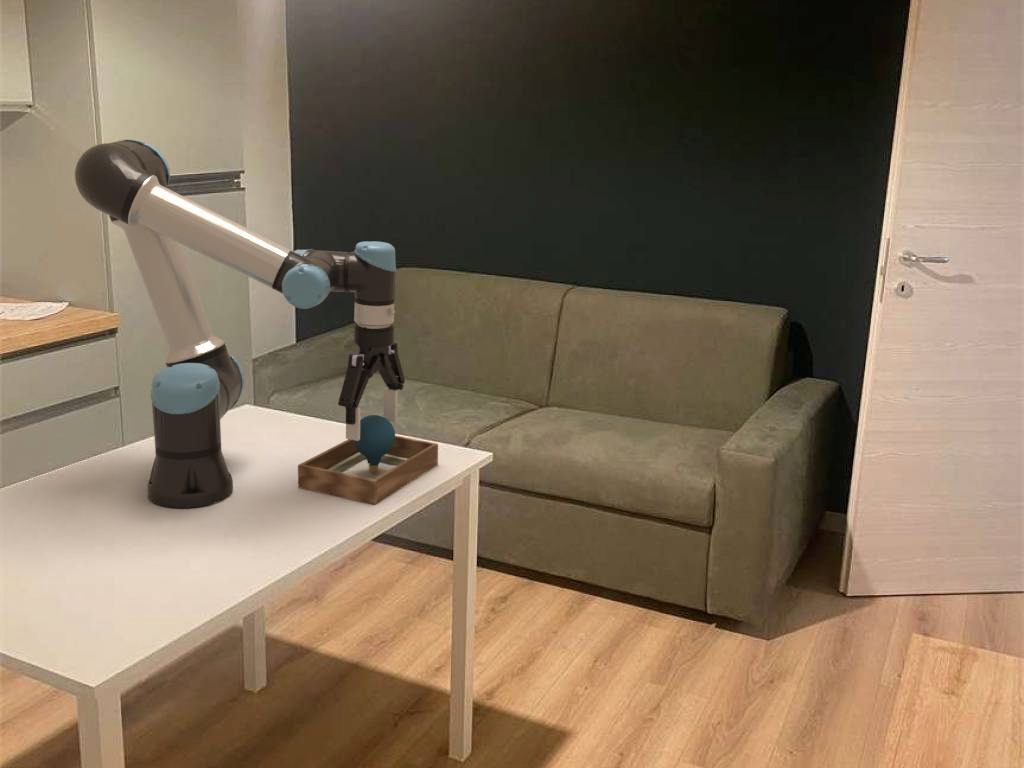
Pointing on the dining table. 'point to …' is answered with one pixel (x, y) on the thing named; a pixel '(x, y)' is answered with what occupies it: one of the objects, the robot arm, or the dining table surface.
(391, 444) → the teal bulb shape
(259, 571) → the dining table surface
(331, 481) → the wooden frame
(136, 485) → the dining table surface
